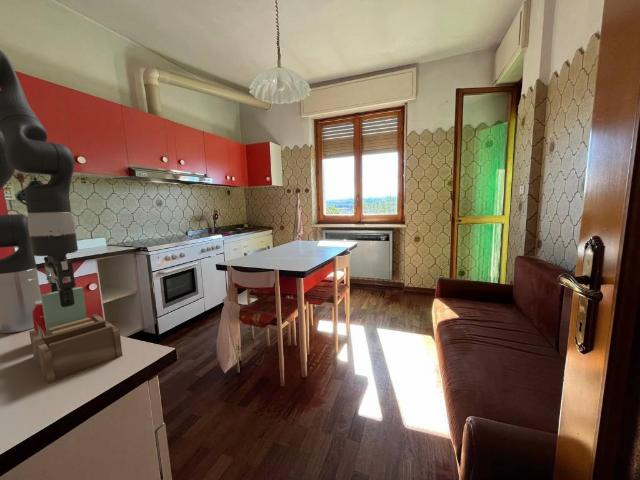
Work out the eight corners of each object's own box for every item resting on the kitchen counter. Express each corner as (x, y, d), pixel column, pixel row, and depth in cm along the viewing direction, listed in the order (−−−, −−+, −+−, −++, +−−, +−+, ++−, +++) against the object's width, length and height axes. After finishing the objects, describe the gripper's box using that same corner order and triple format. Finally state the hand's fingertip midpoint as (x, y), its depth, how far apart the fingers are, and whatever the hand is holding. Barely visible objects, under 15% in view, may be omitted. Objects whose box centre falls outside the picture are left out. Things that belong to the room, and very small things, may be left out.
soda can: (46, 341, 72) (39, 297, 71) (80, 336, 75) (74, 293, 74) (31, 354, 66) (23, 306, 64) (69, 348, 69) (62, 301, 67)
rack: (34, 362, 62) (28, 327, 61) (99, 341, 72) (95, 310, 71) (49, 391, 52) (42, 348, 51) (123, 361, 62) (118, 325, 61)
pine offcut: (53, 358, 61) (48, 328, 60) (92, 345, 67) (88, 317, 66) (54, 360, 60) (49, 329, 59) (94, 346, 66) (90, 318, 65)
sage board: (50, 353, 63) (40, 294, 62) (88, 341, 69) (81, 286, 67) (51, 355, 62) (42, 295, 61) (90, 343, 68) (82, 287, 66)
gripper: (24, 233, 63) (35, 301, 65) (34, 235, 55) (47, 314, 57) (67, 230, 69) (76, 293, 71) (83, 232, 61) (92, 303, 63)
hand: (63, 302), depth 64 cm, fingers open, 8 cm apart
